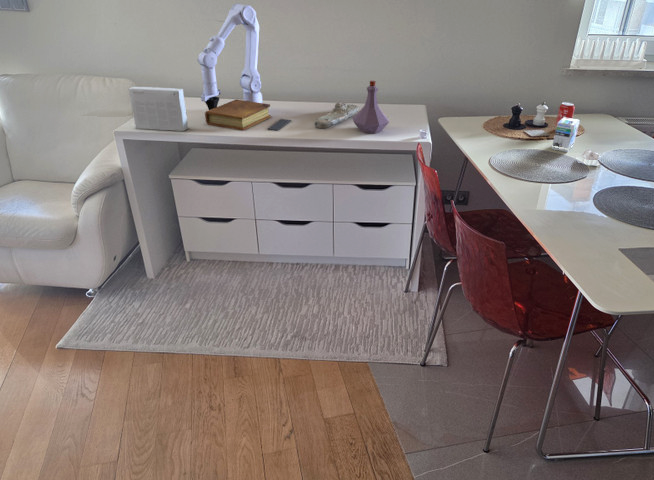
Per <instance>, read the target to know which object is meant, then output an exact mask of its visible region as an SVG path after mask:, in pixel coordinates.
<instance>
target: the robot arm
mask: <svg viewBox="0 0 654 480" xmlns="http://www.w3.org/2000/svg"><path fill="white" fill-rule="evenodd" d="M258 21H259V20H258V18H257V11H256V10H255V9H254V8H253V7H252V6H251V5H249V4H241V3H238V2H236V3H234V4H233V5H232V6H231V9H229V11H228V14H227V17H226V18H225V21H224V22H223V24H222V26H221V28H220V29H219V31H218V33H217V34H216V35H212V36H211V37H210V38H209V42H208V43H207V45H206V47H204V48H203V51H202V52H199V54H198V58H197V62H198V64H199V65H200V69H201V77H202V78H201V79H202V85H203V92H201V96H200V101H201V102H204V103H205V104H206V107H207V109H208V110H211V109H213V108H216V107H218V105H219V102H220V97H219V96H220V95H222V91H221V89H218V83H217V75H216V65H217V64H218V57H219V56H220V54H221V53H222V51H223V49H224V47H225V45H226V44H225V43H226V42H225V41H226V40H227V38H228V37H229V36H230V34H231V32H232V31H233V30H234V29H235V27H236V26H240V25H242V26H243V28H245V29H246V30H245V31H246V32H245V53H244V68H243V70H241V76H240V78H239V85H240V86H239V87H240V88H242V92H243V93H242V96H243V101H250V102H257V103H263V94H262V92H261V89H262V81H261V75H260V72H259V71H258V61H259V59H258V58H259V42H260V41H259V40H260V23H259V22H258Z"/></svg>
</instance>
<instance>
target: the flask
mask: <svg viewBox="0 0 654 480" xmlns="http://www.w3.org/2000/svg"><path fill="white" fill-rule="evenodd" d="M376 83H377V81H376V80H369V85H367V86H366V92H367V96H366V100H365V103H364V105H363V107H362V108H361V109H360V110H358V112H357V113H356V114H355V115H353V116H352V122H353V124H354V125H355V126H356V128H357V129H358V130H359V131H360V133H361V132H362V133H365V134H377V133H378V134H379V133H381V132H382V131H383V130H384V129H385V128H386V127H387V125H389V124H390V122H389V119H388V117H387V116H386V115H385V113H384V112H383V111H382V109H381V108H380V107H379V104H378V98H377V93H378V91H379V88H378V87H377V86H376Z"/></svg>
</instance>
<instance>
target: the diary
mask: <svg viewBox="0 0 654 480" xmlns="http://www.w3.org/2000/svg"><path fill="white" fill-rule="evenodd" d="M270 107H271V104H270V103H269V104H268V103H263V102H262V103H257V102H250V101H244V99H234V100H231V101H229V102H226V103H224V104H221V105H219V106H218V105H217V107H216V108H213V109H211V110H209V109H208V110H206V111H205V112H204V118H205V123H206V124H207V125H208V126H214V127H220V128H225V129H231V130H239V131H246V130H249V128H252V127H253V126H254V127H255V125H258V124H260V123H261V122H264V121H265V120H268V119H270V118H271V117H272V115H271V114H270V111H269V108H270Z"/></svg>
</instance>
